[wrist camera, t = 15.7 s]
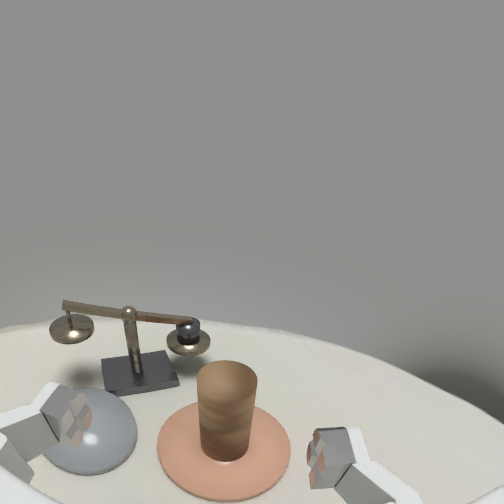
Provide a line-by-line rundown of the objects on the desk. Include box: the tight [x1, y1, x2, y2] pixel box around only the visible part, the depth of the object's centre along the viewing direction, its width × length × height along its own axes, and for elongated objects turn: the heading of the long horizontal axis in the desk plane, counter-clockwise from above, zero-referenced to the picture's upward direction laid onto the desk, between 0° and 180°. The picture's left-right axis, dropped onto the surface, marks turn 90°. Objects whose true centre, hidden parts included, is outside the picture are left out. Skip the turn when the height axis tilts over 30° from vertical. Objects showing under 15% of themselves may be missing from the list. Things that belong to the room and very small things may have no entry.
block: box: [197, 360, 257, 462], centre depth 23 cm, size 5×5×10 cm
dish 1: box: [44, 387, 137, 475], centre depth 23 cm, size 13×13×1 cm
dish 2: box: [157, 402, 290, 502], centre depth 25 cm, size 14×14×1 cm
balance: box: [49, 300, 210, 396], centre depth 33 cm, size 21×7×13 cm, turn 119°
